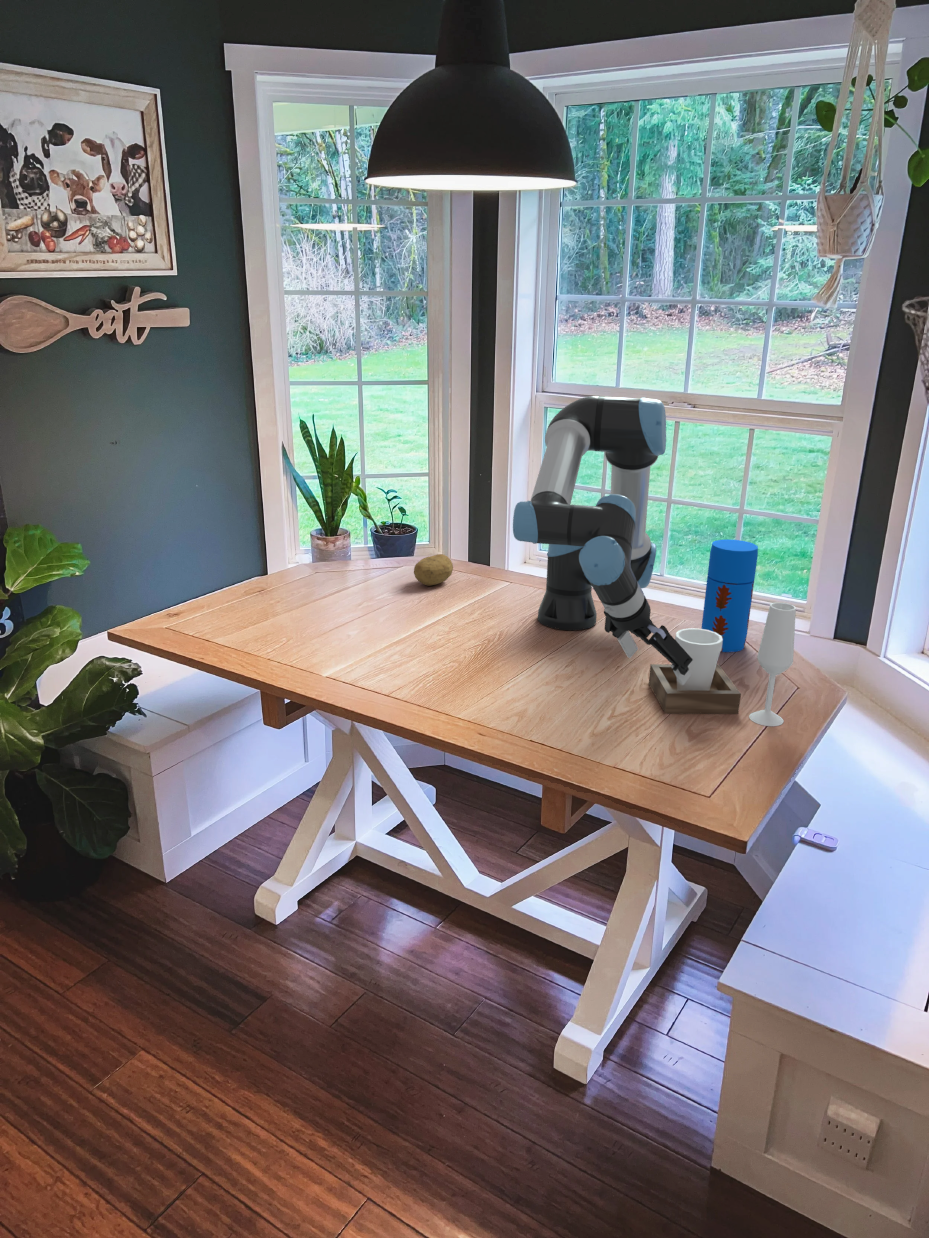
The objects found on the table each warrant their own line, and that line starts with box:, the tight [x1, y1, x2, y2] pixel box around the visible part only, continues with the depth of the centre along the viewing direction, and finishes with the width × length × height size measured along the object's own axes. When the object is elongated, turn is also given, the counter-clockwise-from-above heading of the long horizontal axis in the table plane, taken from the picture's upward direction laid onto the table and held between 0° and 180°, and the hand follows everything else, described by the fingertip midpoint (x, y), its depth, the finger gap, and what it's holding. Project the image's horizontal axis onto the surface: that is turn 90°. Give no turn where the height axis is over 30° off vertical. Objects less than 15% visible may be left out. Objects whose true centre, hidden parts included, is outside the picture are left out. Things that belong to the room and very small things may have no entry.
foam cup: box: [674, 627, 723, 691], centre depth 186 cm, size 10×9×13 cm
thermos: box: [700, 539, 759, 653], centre depth 214 cm, size 11×11×25 cm
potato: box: [413, 553, 454, 587], centre depth 258 cm, size 10×14×8 cm
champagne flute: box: [748, 601, 797, 727], centre depth 176 cm, size 7×7×24 cm
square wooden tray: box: [648, 663, 742, 715], centre depth 188 cm, size 15×15×4 cm
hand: (658, 665), depth 179 cm, fingers open, 13 cm apart
